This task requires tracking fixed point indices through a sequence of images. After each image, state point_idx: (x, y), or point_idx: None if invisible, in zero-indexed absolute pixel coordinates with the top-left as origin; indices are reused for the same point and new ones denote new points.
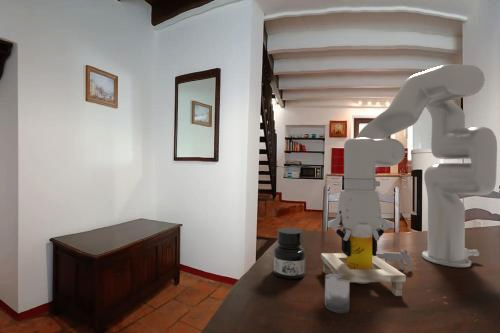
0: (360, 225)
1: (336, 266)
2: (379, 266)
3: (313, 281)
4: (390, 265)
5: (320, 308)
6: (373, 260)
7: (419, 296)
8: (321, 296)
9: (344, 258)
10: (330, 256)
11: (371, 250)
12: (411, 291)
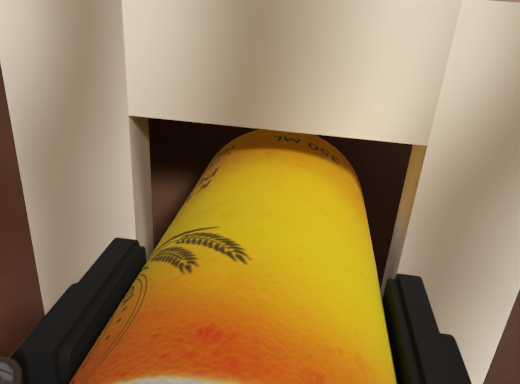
0: None
1: (62, 285)
2: None
3: (3, 141)
4: (500, 334)
5: (7, 356)
6: (442, 225)
7: (505, 360)
8: (24, 287)
9: (200, 119)
10: (66, 75)
11: None
12: (515, 318)
